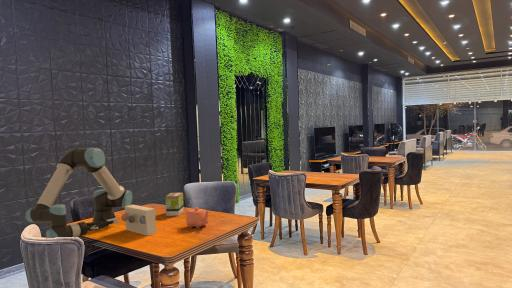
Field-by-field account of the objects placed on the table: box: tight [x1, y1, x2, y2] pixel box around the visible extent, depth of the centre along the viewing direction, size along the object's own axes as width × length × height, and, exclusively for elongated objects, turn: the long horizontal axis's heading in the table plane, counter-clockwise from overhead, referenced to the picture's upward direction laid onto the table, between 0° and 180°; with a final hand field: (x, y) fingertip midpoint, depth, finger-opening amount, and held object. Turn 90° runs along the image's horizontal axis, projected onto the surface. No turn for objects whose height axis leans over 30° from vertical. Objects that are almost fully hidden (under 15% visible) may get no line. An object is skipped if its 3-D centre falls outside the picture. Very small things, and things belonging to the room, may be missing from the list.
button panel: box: [124, 204, 157, 237], centre depth 223 cm, size 24×6×15 cm, turn 50°
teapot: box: [185, 207, 210, 230], centre depth 229 cm, size 20×12×12 cm, turn 58°
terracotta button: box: [120, 213, 128, 222], centre depth 224 cm, size 4×2×4 cm, turn 50°
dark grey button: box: [140, 216, 145, 224], centre depth 216 cm, size 4×2×4 cm, turn 50°
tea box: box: [165, 192, 185, 217], centre depth 268 cm, size 15×10×15 cm, turn 179°
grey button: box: [128, 215, 135, 223], centre depth 219 cm, size 4×2×4 cm, turn 50°
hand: (117, 220), depth 219 cm, fingers closed
